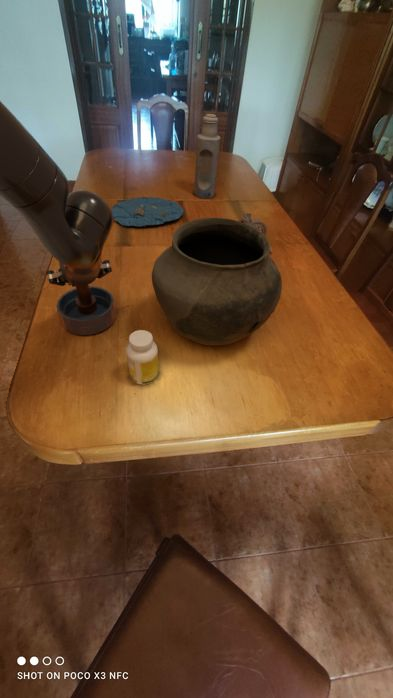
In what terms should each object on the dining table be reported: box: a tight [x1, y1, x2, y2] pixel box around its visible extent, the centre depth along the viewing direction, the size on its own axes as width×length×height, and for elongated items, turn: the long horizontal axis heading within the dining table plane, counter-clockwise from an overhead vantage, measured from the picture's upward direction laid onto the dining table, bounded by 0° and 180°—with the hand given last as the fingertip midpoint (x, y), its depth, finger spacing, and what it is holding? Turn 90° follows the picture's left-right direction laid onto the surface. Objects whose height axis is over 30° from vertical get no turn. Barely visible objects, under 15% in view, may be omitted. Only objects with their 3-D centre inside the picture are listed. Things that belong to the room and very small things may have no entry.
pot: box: [151, 217, 283, 346], centre depth 75 cm, size 29×32×25 cm
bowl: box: [56, 285, 117, 336], centre depth 81 cm, size 14×14×6 cm
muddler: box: [74, 284, 97, 314], centre depth 76 cm, size 5×5×11 cm
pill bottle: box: [125, 329, 160, 385], centre depth 67 cm, size 6×6×12 cm
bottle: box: [193, 113, 221, 199], centre depth 135 cm, size 10×10×30 cm
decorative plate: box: [111, 196, 184, 228], centre depth 126 cm, size 30×30×5 cm
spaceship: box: [241, 212, 273, 255], centre depth 114 cm, size 8×35×8 cm
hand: (80, 280), depth 76 cm, fingers closed on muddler, 3 cm apart
